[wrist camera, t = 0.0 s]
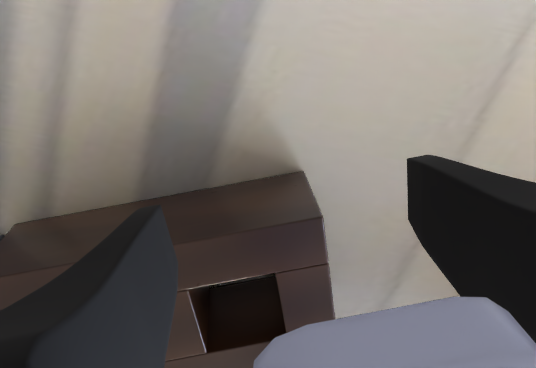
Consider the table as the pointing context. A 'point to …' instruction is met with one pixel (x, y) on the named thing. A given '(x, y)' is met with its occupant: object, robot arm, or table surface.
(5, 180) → the table surface
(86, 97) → the table surface
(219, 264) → the stand
